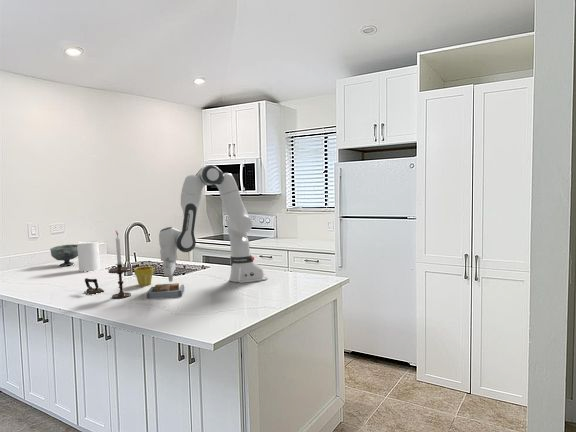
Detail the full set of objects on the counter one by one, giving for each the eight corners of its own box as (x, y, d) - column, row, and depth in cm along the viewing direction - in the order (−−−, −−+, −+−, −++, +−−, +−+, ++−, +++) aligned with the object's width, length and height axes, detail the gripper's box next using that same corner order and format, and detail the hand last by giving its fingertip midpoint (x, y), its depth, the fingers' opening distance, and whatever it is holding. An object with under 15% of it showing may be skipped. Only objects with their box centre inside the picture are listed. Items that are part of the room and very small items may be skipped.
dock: (184, 290, 224) (184, 284, 224) (181, 296, 210) (181, 290, 210) (151, 292, 222) (151, 286, 222) (146, 299, 208) (146, 293, 208)
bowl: (46, 268, 308) (44, 248, 307) (64, 263, 327) (62, 244, 326) (69, 268, 305) (68, 247, 304) (86, 263, 324) (85, 244, 323)
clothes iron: (93, 296, 221) (87, 278, 220) (82, 298, 227) (76, 281, 227) (105, 291, 226) (99, 274, 226) (94, 294, 233) (88, 277, 233)
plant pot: (148, 286, 235) (147, 269, 234) (131, 286, 237) (130, 269, 236) (157, 282, 245) (156, 266, 244) (141, 282, 247) (140, 266, 246)
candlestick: (106, 299, 211) (101, 231, 208) (117, 293, 221) (113, 228, 219) (125, 299, 209) (121, 230, 207) (136, 293, 220) (132, 228, 217)
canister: (94, 271, 286) (92, 243, 285) (75, 272, 287) (73, 244, 285) (103, 268, 300) (101, 240, 298) (85, 268, 300) (83, 241, 299)
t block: (179, 290, 224) (178, 283, 223) (176, 296, 212) (175, 288, 212) (156, 292, 222) (155, 284, 222) (151, 297, 210) (151, 290, 210)
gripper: (172, 259, 219) (174, 285, 220) (176, 253, 239) (178, 276, 240) (160, 260, 218) (162, 286, 219) (165, 254, 238) (167, 277, 239)
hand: (171, 281), depth 230 cm, fingers closed
